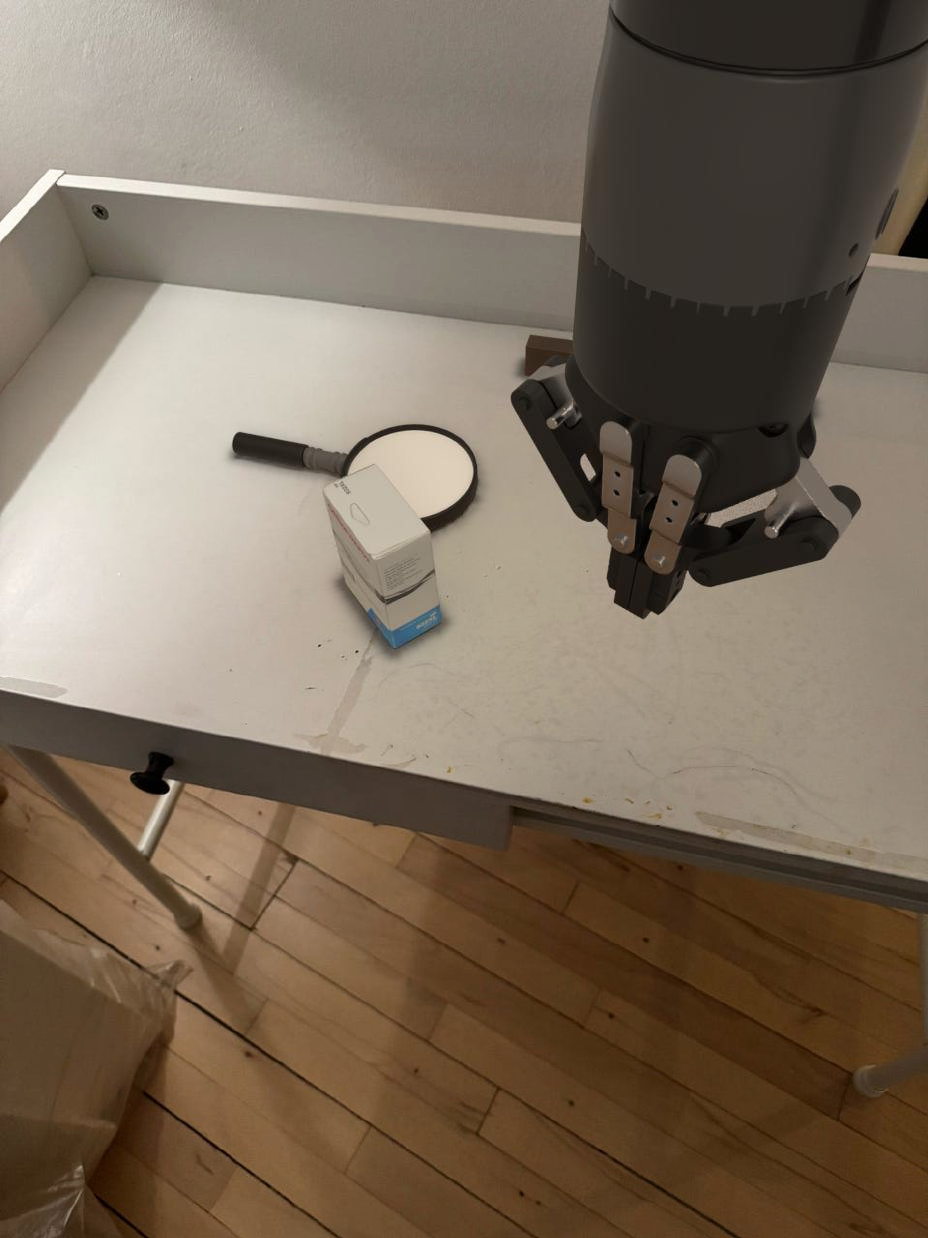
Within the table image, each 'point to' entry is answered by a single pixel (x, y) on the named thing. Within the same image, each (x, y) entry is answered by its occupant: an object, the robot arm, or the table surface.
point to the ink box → (384, 554)
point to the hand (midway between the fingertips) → (641, 598)
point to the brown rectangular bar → (544, 351)
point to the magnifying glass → (391, 465)
